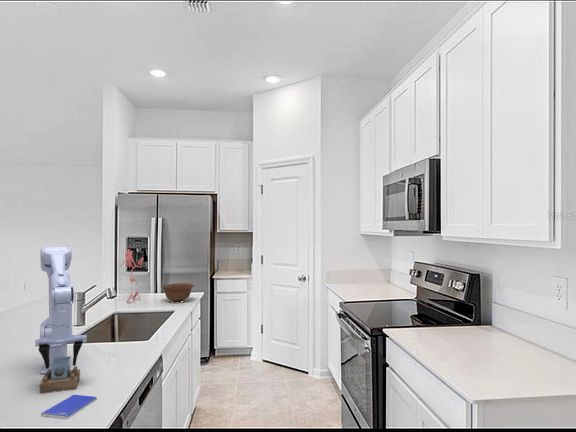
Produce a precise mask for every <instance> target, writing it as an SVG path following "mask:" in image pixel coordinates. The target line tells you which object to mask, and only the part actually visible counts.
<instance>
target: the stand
mask: <svg viewBox="0 0 576 432" xmlns="http://www.w3.org/2000/svg"><path fill="white" fill-rule="evenodd" d="M80 377H81V368H78V366H77V365H75V366H73V367H72V369H70V373H69V376H68V378H67V379H61V380H52V381H51V369H48V371H47V373H45V374H44V376H43V378H42V379H41V381H40V383H39V394H46V393H45V392H48V393H54V392H53V391H56V392H63V391H62V390H64V391H72V390H77V387H78V384H79V382H80V379H81V378H80Z"/></svg>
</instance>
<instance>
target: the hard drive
mask: <svg viewBox="0 0 576 432" xmlns="http://www.w3.org/2000/svg"><path fill="white" fill-rule="evenodd" d="M97 398H98V397H97V396H91V395H81V394H72V395H70V396H69V397H67V398H65V399H63V400H61V401H60V402H58V403H57V404H54V405H53V406H51V407H49V408H47V409H46V410H44V411H43V412H41V413H40V417H41V416H42V417H43V418H50V417H52V418H53V419H61V420H69V419H70V418H72V417H73V416H75V415H76V414H78V413H79V412H81V411H82V410H85V408H87V407H89V406H91V404H93V403H95V402H96V401H97V400H98V399H97Z"/></svg>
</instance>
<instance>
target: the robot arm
mask: <svg viewBox="0 0 576 432" xmlns="http://www.w3.org/2000/svg"><path fill="white" fill-rule="evenodd" d="M39 255H40V257H39V259H40V260H39V261H40V269H41V271H42V272H44V273H46V275H47V277H48V278H47V279H48V317H47V318H45V320H43V321H42V322H41V324H40V329H39V338H35V341H34V343H35V344H34V347H38V352H39V354H40V355H41V357H42V360H43V368H42V370H41V371H40V374H41V375H45V374H46V373H47V371H48V369H51V364H52V363H53V361H54V359H55V358H58V357H68V344H72V345H73V346H72V351H73V355H72V356H73V359H72V367H75V366H77V359H78V356H79V352H80V350H81V348H82V347H83V346H82V345H83V343H87V337H88V335H87V334H75V335H74V334H73V328H72V326H73V325H72V324H73V323H72V321H73V304H74V301H75V289H74V286H73V284H71V279H70V278H71V277H70V274H69V273H68V272H67V271H68V270H69V269H70V267H71V262H72V257H73V253H72V247H71V246H70V245H68V246H42V247H41V248H40V253H39Z"/></svg>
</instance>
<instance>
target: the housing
mask: <svg viewBox="0 0 576 432" xmlns="http://www.w3.org/2000/svg"><path fill="white" fill-rule="evenodd" d="M71 360H72V357H71V355H70V356H69V355H67V357H58V358H55V359H54V361H53V363H52V364H51V381H52V380H61V379H67V378H68V376H69V373H70V370H71V362H72V361H71Z"/></svg>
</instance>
